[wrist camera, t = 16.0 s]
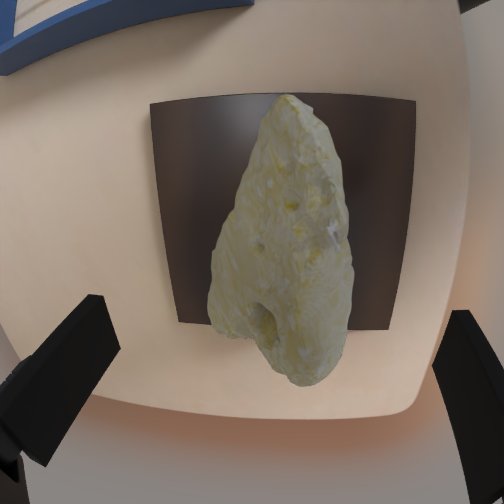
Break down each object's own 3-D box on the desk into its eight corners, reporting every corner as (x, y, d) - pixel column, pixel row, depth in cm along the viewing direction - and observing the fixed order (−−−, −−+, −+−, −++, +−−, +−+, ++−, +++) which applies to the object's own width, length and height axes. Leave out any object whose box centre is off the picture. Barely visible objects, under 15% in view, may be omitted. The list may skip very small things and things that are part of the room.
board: (409, 101, 18) (416, 101, 17) (385, 319, 26) (388, 329, 25) (158, 103, 21) (149, 103, 20) (183, 312, 28) (178, 322, 27)
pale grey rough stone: (294, 337, 29) (447, 348, 16) (227, 375, 25) (383, 427, 12) (240, 176, 28) (375, 94, 15) (163, 193, 24) (278, 83, 11)
